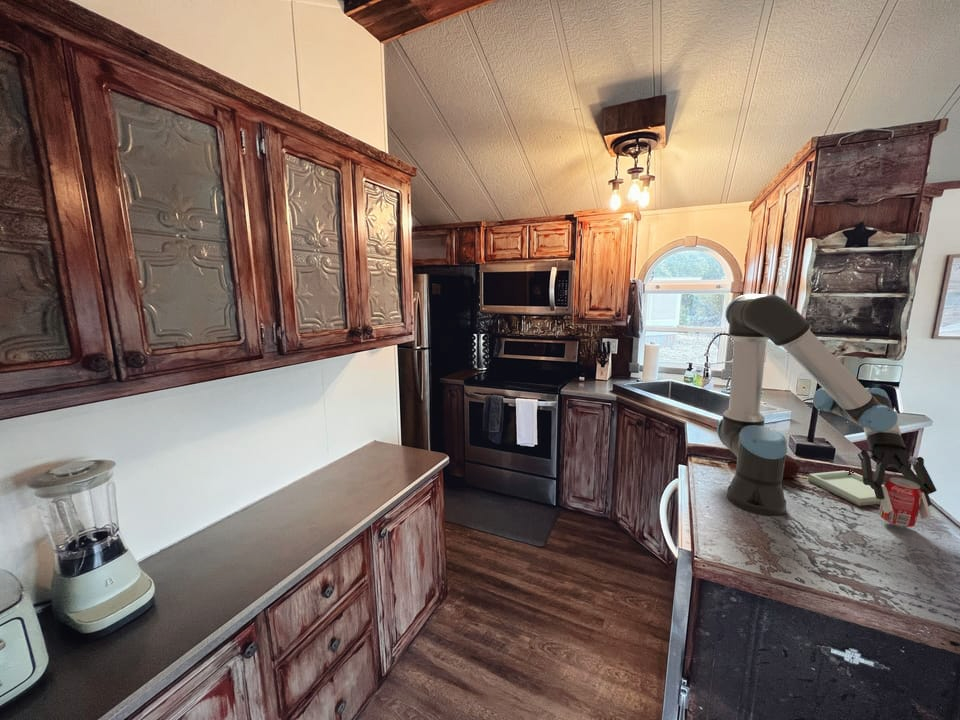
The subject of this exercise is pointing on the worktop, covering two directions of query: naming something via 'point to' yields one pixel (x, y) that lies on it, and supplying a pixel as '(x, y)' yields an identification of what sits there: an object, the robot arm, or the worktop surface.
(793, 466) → the potato
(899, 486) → the soda can
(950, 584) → the worktop surface
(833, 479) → the tray
